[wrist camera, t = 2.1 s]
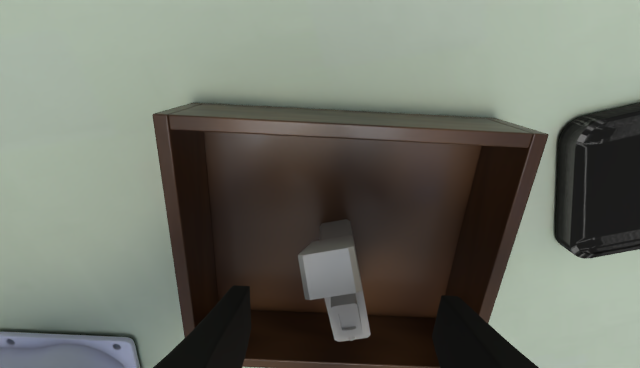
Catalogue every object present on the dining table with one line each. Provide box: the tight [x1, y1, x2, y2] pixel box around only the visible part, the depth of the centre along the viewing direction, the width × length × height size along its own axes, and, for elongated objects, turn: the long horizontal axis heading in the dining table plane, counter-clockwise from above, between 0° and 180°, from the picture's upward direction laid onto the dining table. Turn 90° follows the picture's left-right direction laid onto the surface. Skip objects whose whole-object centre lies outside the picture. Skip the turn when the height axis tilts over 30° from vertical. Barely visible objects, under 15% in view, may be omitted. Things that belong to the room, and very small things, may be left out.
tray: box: [153, 103, 548, 368], centre depth 16 cm, size 15×13×4 cm
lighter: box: [298, 219, 371, 342], centre depth 14 cm, size 7×2×8 cm, turn 11°
